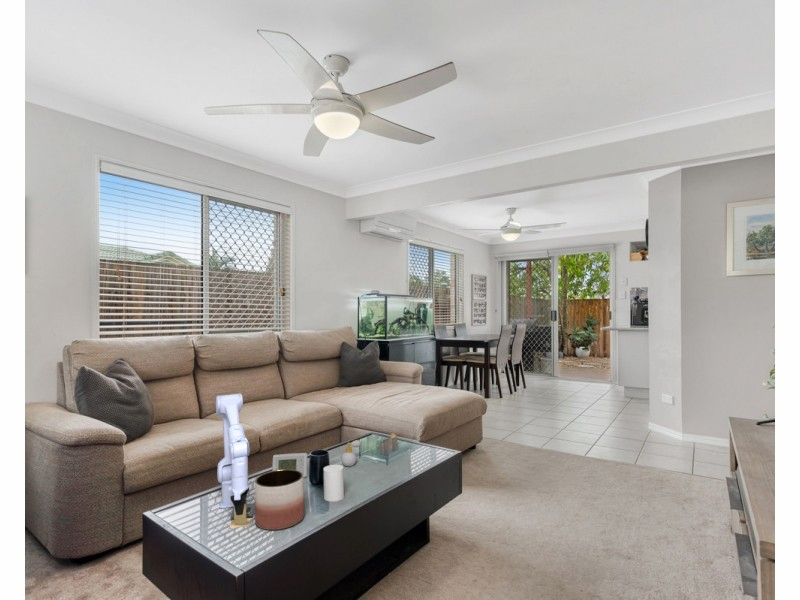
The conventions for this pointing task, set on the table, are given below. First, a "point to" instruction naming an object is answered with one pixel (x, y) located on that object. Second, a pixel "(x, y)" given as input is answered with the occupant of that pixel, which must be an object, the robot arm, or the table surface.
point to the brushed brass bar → (241, 516)
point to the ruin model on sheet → (389, 445)
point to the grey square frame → (249, 509)
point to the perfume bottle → (350, 454)
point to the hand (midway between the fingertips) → (240, 511)
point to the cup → (333, 483)
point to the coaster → (240, 524)
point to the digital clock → (291, 462)
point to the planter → (279, 499)
